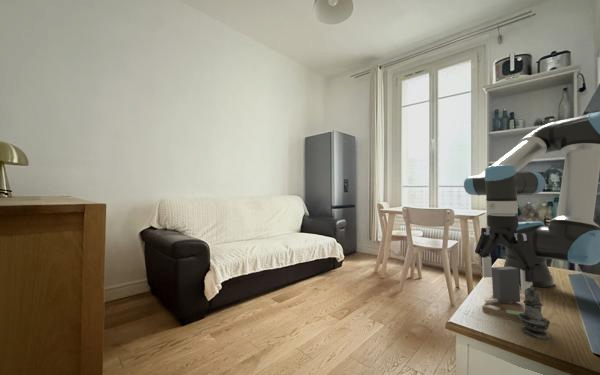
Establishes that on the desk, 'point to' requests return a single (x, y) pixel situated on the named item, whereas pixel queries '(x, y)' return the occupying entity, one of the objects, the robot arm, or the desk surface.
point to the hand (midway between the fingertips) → (505, 284)
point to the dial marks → (506, 310)
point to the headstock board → (506, 308)
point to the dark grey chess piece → (533, 315)
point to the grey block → (505, 285)
